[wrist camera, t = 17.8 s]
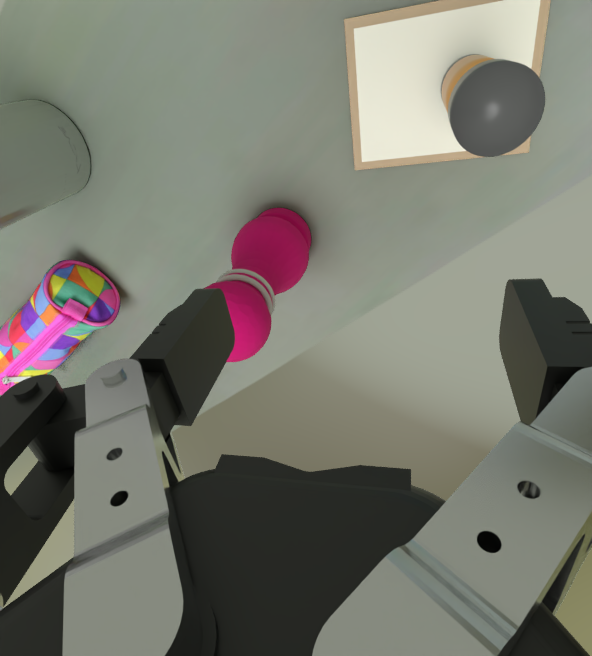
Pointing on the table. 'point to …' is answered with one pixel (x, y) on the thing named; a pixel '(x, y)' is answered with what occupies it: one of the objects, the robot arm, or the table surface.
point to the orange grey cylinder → (491, 103)
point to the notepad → (428, 72)
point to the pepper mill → (262, 274)
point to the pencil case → (55, 321)
